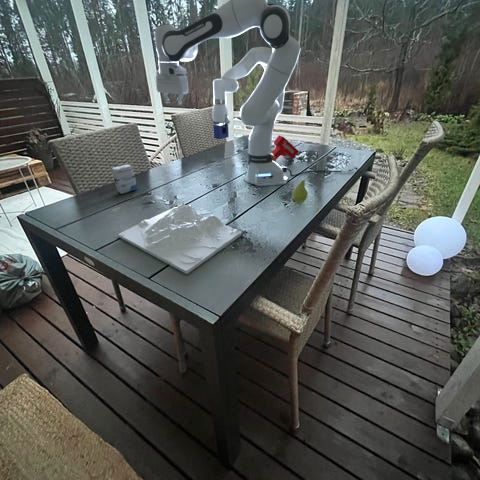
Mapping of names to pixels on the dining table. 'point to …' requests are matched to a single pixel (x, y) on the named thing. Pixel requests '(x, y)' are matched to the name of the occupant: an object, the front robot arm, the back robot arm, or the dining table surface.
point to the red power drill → (284, 148)
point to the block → (220, 131)
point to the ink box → (124, 178)
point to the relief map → (181, 237)
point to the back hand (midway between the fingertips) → (221, 132)
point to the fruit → (300, 192)
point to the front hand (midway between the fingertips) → (173, 103)
